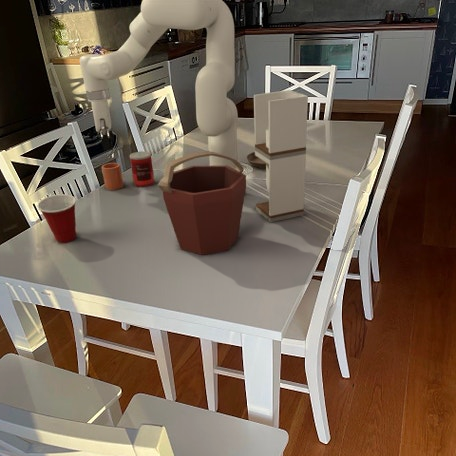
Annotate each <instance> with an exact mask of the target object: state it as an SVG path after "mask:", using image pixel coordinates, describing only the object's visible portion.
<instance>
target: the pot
mask: <svg viewBox="0 0 456 456" xmlns="http://www.w3.org/2000/svg"><path fill="white" fill-rule="evenodd" d="M101 171H102V177H103V182H104V186H105V189H106V190H108V191H110V190H111V191H116V190H119V189H122V188H123V187H125V186H124V179H123V173H122V168H121V164H120V163H118V162H109V163H105V164H103V165H102V166H101Z"/></svg>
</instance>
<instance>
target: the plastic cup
mask: <svg viewBox="0 0 456 456" xmlns="http://www.w3.org/2000/svg"><path fill="white" fill-rule="evenodd" d="M76 203H77V199H76V197H75V196H73V195H71V194H64V193H62V194H54V195H49V196H47V197H45V198H42V199H41V200H40V201H38V203H37V204H36V208H37V209H38V210H39V211H40V212H41V214H42V216H43V217H44V219H45V221H46V223H47V225H48V227H49V230H50V231H51V233H52V235H53V237H54V239H55V240H56V243H57V242H58V243H62V244H63V243H64V244H65V243H70V242H72V241H74V240H75V239H76V238H77V228H76V227H77V224H76Z"/></svg>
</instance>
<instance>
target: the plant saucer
mask: <svg viewBox="0 0 456 456" xmlns="http://www.w3.org/2000/svg"><path fill="white" fill-rule="evenodd" d="M246 160H247V161H248V163H249V164H250V165H251V166H252V167H255V168H258V169H266V162H265V161H263V160H262V159H260V158H259V157H257V156H256V155H255V151H253V152H251V153H249V154H247V155H246Z"/></svg>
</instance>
